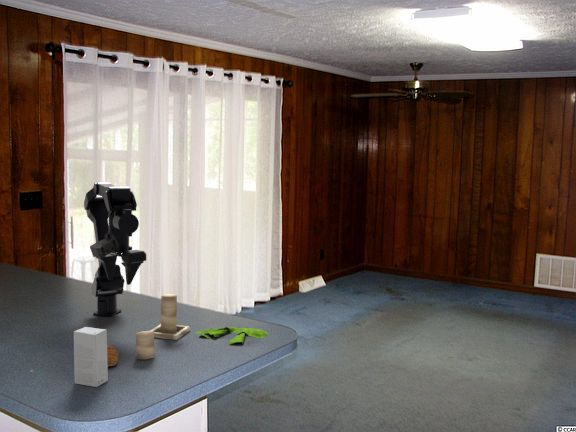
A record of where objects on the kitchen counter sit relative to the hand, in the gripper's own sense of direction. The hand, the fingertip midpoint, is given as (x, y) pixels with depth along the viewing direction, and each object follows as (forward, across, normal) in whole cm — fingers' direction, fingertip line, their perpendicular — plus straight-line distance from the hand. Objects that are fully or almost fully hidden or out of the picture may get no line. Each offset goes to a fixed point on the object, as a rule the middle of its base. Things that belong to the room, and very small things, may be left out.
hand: (119, 282), depth 171 cm
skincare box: (+13, +31, -30) cm, 45 cm away
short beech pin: (+13, +27, -12) cm, 32 cm away
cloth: (+14, +31, +14) cm, 37 cm away
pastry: (+14, +22, -20) cm, 33 cm away
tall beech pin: (+13, +17, +5) cm, 22 cm away
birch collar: (+13, +17, +5) cm, 22 cm away
